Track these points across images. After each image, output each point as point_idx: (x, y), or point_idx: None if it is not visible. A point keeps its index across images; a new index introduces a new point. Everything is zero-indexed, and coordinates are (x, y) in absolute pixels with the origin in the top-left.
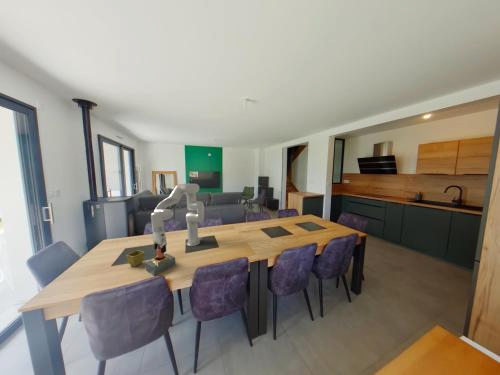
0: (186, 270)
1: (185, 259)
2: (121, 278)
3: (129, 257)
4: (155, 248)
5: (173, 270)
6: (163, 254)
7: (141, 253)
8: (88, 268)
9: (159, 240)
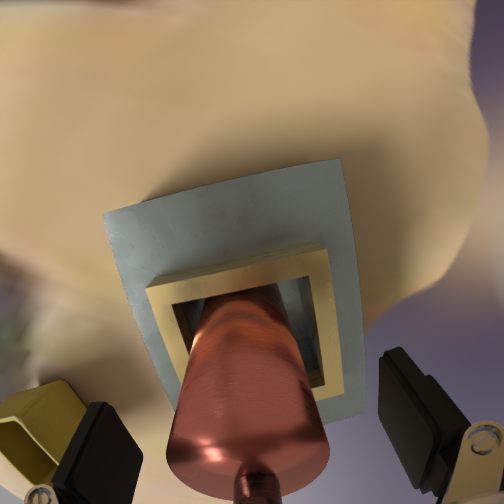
0: (466, 144)
1: (278, 43)
2: None
3: None
4: (136, 469)
5: (396, 221)
6: (294, 341)
7: (39, 441)
8: None
9: None
